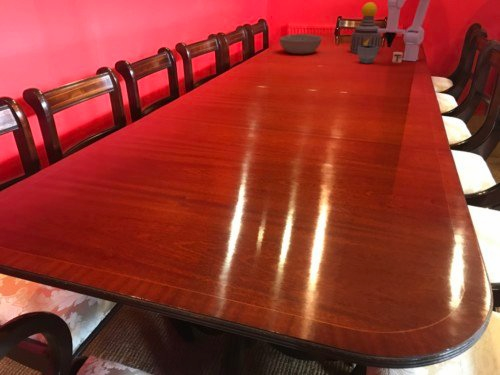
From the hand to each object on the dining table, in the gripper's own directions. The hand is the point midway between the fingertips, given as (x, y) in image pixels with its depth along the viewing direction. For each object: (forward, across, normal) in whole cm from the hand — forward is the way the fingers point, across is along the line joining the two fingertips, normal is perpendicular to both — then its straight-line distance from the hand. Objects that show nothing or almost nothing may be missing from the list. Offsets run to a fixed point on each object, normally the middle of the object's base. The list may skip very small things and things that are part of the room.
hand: (389, 47), depth 219 cm
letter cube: (+10, +3, +11) cm, 15 cm away
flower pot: (+10, -11, -1) cm, 15 cm away
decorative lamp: (+10, -24, +32) cm, 41 cm away
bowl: (+10, -60, +10) cm, 62 cm away
